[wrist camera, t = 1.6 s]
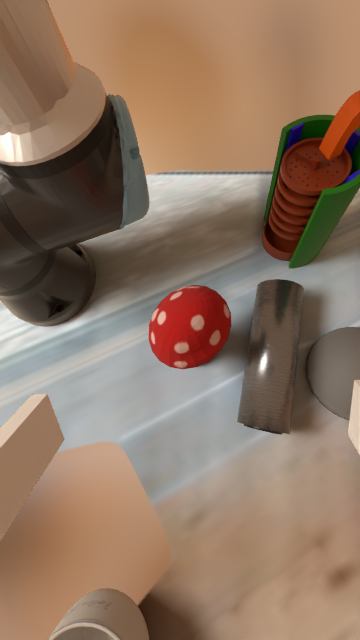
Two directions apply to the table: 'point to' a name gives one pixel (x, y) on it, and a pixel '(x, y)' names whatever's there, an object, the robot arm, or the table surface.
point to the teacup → (102, 618)
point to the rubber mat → (335, 369)
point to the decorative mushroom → (189, 327)
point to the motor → (312, 183)
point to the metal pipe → (272, 357)
